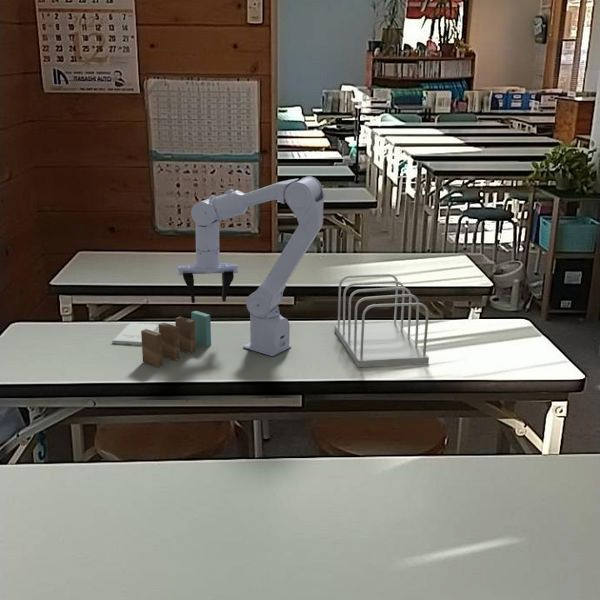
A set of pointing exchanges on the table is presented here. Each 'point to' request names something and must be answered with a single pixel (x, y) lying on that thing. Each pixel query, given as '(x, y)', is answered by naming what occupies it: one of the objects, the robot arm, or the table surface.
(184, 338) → the domino
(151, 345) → the domino
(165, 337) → the domino
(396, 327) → the file sorter
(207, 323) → the domino
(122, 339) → the external hard drive
